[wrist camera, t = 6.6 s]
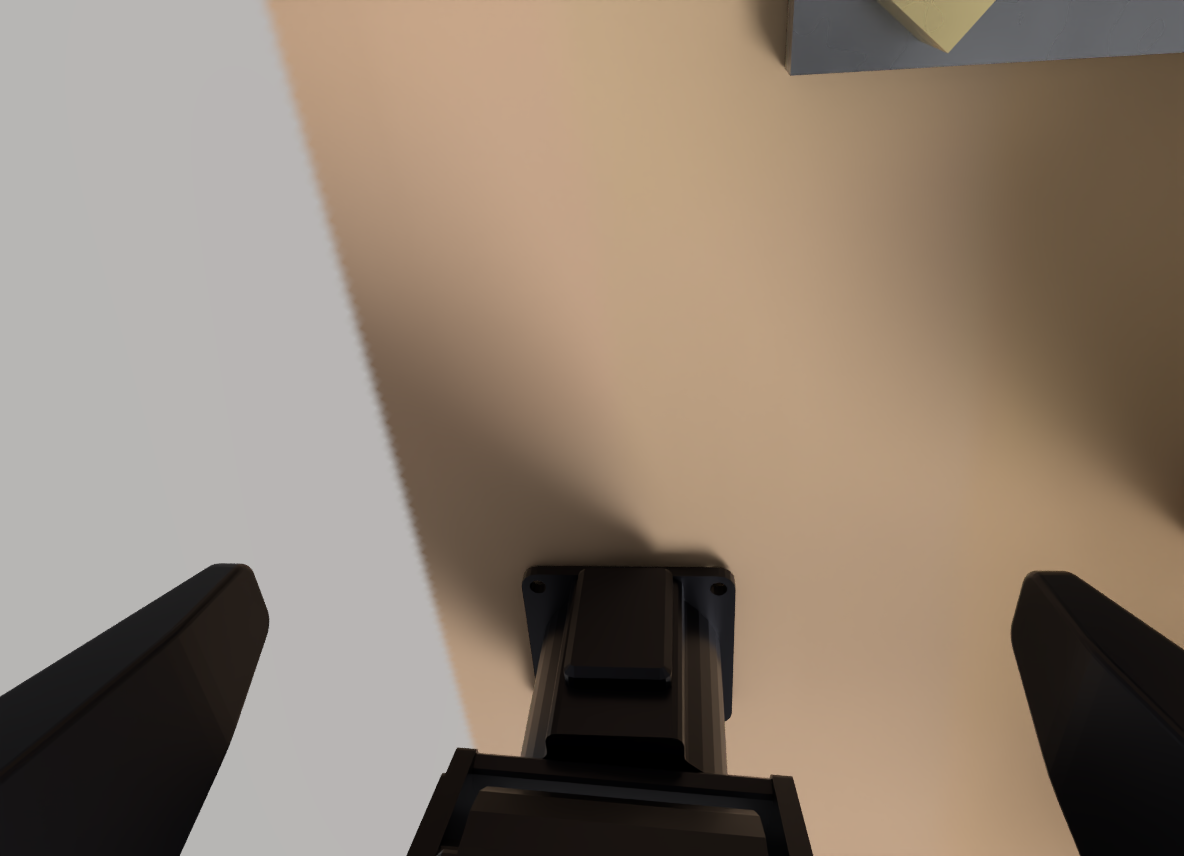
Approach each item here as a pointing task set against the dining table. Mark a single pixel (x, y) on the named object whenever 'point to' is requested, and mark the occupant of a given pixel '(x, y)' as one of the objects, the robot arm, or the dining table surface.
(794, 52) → the hub plate
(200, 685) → the robot arm
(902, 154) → the dining table surface
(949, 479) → the dining table surface
